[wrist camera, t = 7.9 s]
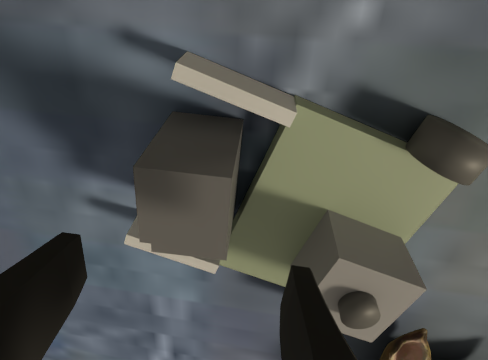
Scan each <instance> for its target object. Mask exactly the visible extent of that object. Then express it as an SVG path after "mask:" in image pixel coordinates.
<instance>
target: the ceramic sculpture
mask: <svg viewBox="0 0 488 360" xmlns="http://www.w3.org/2000/svg"><path fill="white" fill-rule="evenodd" d="M380 360H431V351H430V348H429V345H428V342H427V330H426V329H424V328H422V329H419V330H415V331H413V332H410V333H407V334H404V335H402V336H400V337H398V338H396V339H395V340H393V341H392V342H390V343H389V344H388V345H387V346H386V347H385V349H384V351H383V353H382V355H381V358H380Z"/></svg>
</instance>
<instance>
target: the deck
mask: <svg viewBox="0 0 488 360" xmlns="http://www.w3.org/2000/svg"><path fill="white" fill-rule="evenodd" d="M171 79H173V80H175V81H177V82H180V83H182V84H185V85H187V86H190V87H192V88H194V89H197V90H199V91H202V92H204V93H207V94H209V95H211V96H214V97H216V98H219V99H221V100H224V101H226V102H229V103H231V104H233V105H236V106H238V107H241V108H243V109H246V110H248V111H250V112H253V113H255V114H258V115H260V116H263V117H265V118H267V119H270V120H272V121H275V122H277V123H280V126H279V128H278V130H277V132H276V134H275V136H274V138H273V140H272V143H271V145H270V147H269V149H268V151H267V153H266V155H265V157H264V159H263V161H262V163H261V165H260V167H259V169H258V171H257V173H256V175H255V177H254V179H253V181H252V183H251V185H250V187H249V189H248V191H247V193H246V195H245V197H244V199H243V201H242V203H241V205H240V207H239V209H238V211H237V213H236V215H235V217H234V220H233V223H232V229H231V235H230V242H229V248H228V254H227V261H226V260H217V259H209V258H200V257H192V256H183V255H175V254H166V253H158V252H151V244H150V243H142V242H140V241H139V229H138V218H137V217H136V219H135V220H134V222H133V224H132V226H131V228H130V229H129V231H128V233H127V235H126V239H125V242H124V244H127V245H130V246H133V247H136V248H139V249H142V250H145V251H148V252H151V253H154V254H157V255H160V256H163V257H166V258H169V259H172V260H175V261H178V262H181V263H184V264H187V265H190V266H193V267H196V268H199V269H202V270H205V271H208V272H211V273H214V274H215V273H216V271H217V269H218V267H219V265H222V266H225V267H228V268H231V269H234V270H237V271H239V272H242V273H245V274H248V275H251V276H254V277H257V278H260V279H263V280H266V281H269V282H272V283H275V284H278V285H281V286H284V287H286V283H287V280H288V276H289V272H290V269H291V265H295V266H302V267H309V268H310V269H311V270H312V272H313V275H314V277H315V280H316V282H317V285H318V287H319V289H320V291H321V294H322V296H323V298H324V300H325V302H326V304H327V306H328V308H329V310H330V312H331V314H332V316H333V318H334V320H335V322H336V324H337V326H338V327H339V329H340V331H341V333H343V334H346V335H349V336H352V337H355V338H358V339H361V340H365V341H368V342H371V343H372V342H373V341H374V340H375V339H376V338H377V337H378V336H379V335H380V334H381V333H382V332H383V331H384V330H386V329H387V328H388V327H389V326H390V325H391V324H392V323H393V322H394V321H395V320H396V319H397V318H398V317H399V316H400V315H401V314H402V313H403V312H404V311H405V310H406V309H407V308H408V307H409V306H410V305H411V304H412V303H413V302H414V301H415V300H416V299H418V298H419V297H420V296H421V295H422V294H423V293H424V292H425V291H426V290H427V289H426V287H425V285H424V283H423V281H422V279H421V277H420V275H419V273H418V270H417V268H416V266H415V264H414V262H413V260H412V258H411V256H410V254H409V252H408V250H407V248H406V246H405V243H406V242H407V241H408V240H409V239H410V238H411V237H412V235H413V234H414V233H415V232H416V231H417V230H418V229H419V228H420V226H421V225H422V224H423V223H424V222H425V221H426V220H427V218H428V217H429V216H430V215H431V214H432V213H433V212H434V211H435V209H436V208H437V207H438V206H439V205H440V204H441V203H442V202H443V200H444V199H445V198H446V197H447V196H448V195H449V194H450V193H451V191H452V190H453V189H454V188H455V187H456V186H457V185H458V183H459V184H462V185H470V184H471V183H472V182H473V181H474V180H475V179H476V178H477V177H478V176H479V175H480V174H481V172H482V171H483V170H484V169H485V168H486V167H487V166H488V144H487V143H485V142H484V141H482V140H481V139H479V138H477V137H476V136H474V135H473V134H471V133H469V132H467V131H466V130H464V129H462V128H460V127H458V126H456V125H454V124H452V123H450V122H448V121H446V120H443V119H441V118H439V117H436V116H432V115H427V117H426V118H425V119H424V121H423V122H422V123H421V125H420V126H419V128H418V129H417V130H416V132H415V133H414V134H413V136H412V137H411V138H410V140H409V141H408V143H406V142H404V141H402V140H399V139H397V138H395V137H392V136H390V135H388V134H385V133H383V132H381V131H378V130H376V129H374V128H371V127H369V126H367V125H364V124H362V123H360V122H357V121H355V120H353V119H350V118H348V117H345V116H343V115H341V114H338V113H336V112H334V111H331V110H329V109H327V108H324V107H322V106H320V105H317V104H315V103H313V102H310V101H308V100H306V99H303V98H301V97H299V96H296V95H295V96H291V95H289V94H287V93H284V92H282V91H280V90H277V89H275V88H273V87H270V86H268V85H266V84H263V83H261V82H258V81H256V80H254V79H251V78H249V77H247V76H244V75H242V74H240V73H237V72H235V71H233V70H230V69H228V68H226V67H223V66H221V65H219V64H216V63H214V62H211V61H209V60H207V59H204V58H202V57H200V56H197V55H195V54H193V53H190V52H188V51H187V52H186V53H185V54H184V55H183V56H182V57H181V58H180V59H179V60H178V61H177V62H176V64H175V67H174V71H173V74H172V78H171Z"/></svg>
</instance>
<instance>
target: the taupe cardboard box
mask: <svg viewBox="0 0 488 360" xmlns="http://www.w3.org/2000/svg"><path fill="white" fill-rule="evenodd" d="M242 130H243V119H235V118H226V117H218V116H209V115H200V114H191V113H182V112H172V113H171V115H170V116H169V117H168V119H167V120H166V122H165V123H164V124H163V126H162V127H161V129H160V130H159V131H158V133H157V134H156V136H155V137H154V138H153V140H152V141H151V142H150V144H149V145H148V147H147V148H146V149H145V151H144V152H143V154H142V155H141V156H140V158H139V159H138V161H137V162H136V163H135V165H134V166H133V173H134V184H135V195H136V207H137V218H138V229H139V241H140V242H142V243H150V244H151V252H158V253H166V254H175V255H183V256H192V257H200V258H209V259H217V260H226V261H227V254H228V248H229V242H230V235H231V229H232V223H233V216H234V210H235V202H236V192H237V181H238V171H239V161H240V150H241V140H242Z"/></svg>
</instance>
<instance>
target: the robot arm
mask: <svg viewBox="0 0 488 360" xmlns="http://www.w3.org/2000/svg"><path fill="white" fill-rule="evenodd" d="M86 279H87V272H86V266H85V261H84V255H83V249H82V243H81V237H80V235H78V234H71V233H64V232H62V233H60V234H59V235H57V236H56V237H54V238H53V239H51V240H50V241H49V242H47V243H46V244H44V245H43V246H41V247H40V248H38V249H37V250H35V251H34V252H33V253H31V254H30V255H28V256H27V257H25V258H24V259H22V260H21V261H19V262H18V263H16V264H15V265H13V266H12V267H10V268H9V269H7V270H6V271H4V272H3V273H1V274H0V360H42V358H43V356H44V355H45V353H46V351H47V350H48V348H49V347H50V345H51V343H52V342H53V340H54V338H55V337H56V335H57V334H58V332H59V330H60V329H61V327H62V325H63V324H64V322H65V320H66V319H67V317H68V316H69V314H70V312H71V311H72V309H73V307H74V305H75V303H76V301H77V299H78V297H79V295H80V293H81V290H82V288H83V286H84V284H85V281H86ZM280 345H281V359H282V360H357V359H356V357H355V355H354V354H353V352H352V350H351V349H350V347H349V345H348V343H347V342H346V340H345V338H344V337H343V335H342V333H341V331H340V329H339V327H338V326H337V324H336V322H335V320H334V318H333V316H332V314H331V312H330V310H329V308H328V306H327V304H326V302H325V300H324V298H323V296H322V294H321V291H320V289H319V287H318V285H317V282H316V280H315V277H314V275H313V272H312V270H311V269H310V268H309V267H302V266H295V265H291V269H290V272H289V276H288V280H287V283H286V287H285V291H284V294H283V298H282V301H281V308H280Z"/></svg>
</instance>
